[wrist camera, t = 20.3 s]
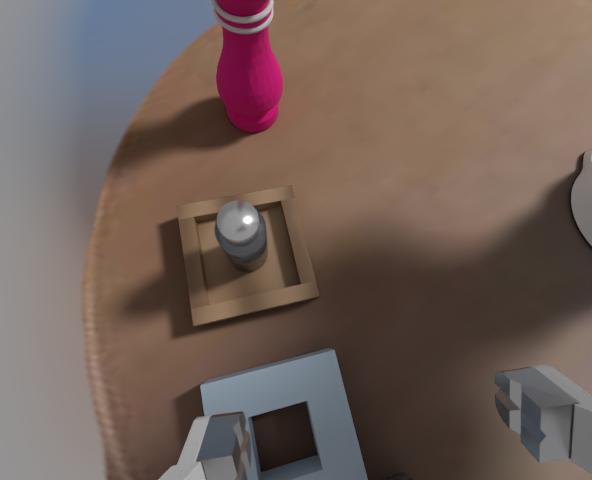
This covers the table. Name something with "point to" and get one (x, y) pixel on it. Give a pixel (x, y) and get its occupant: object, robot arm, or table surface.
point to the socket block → (288, 391)
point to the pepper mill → (248, 64)
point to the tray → (232, 282)
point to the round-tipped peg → (242, 235)
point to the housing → (399, 477)
